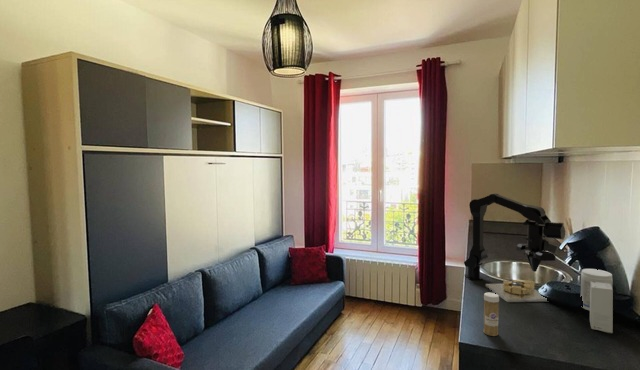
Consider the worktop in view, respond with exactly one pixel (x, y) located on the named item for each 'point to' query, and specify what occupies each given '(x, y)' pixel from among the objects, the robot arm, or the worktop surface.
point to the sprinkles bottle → (491, 314)
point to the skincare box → (601, 306)
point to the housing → (512, 297)
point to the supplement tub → (592, 276)
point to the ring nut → (518, 287)
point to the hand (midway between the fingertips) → (534, 271)
